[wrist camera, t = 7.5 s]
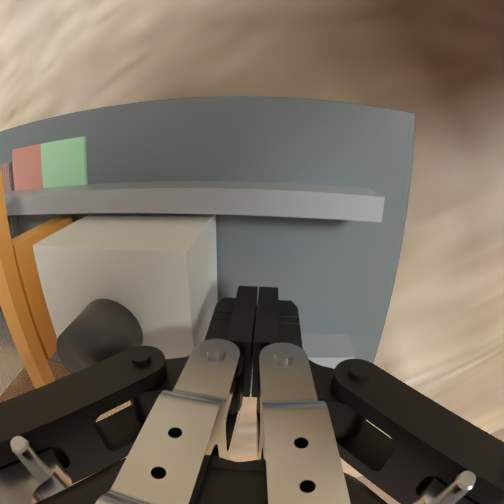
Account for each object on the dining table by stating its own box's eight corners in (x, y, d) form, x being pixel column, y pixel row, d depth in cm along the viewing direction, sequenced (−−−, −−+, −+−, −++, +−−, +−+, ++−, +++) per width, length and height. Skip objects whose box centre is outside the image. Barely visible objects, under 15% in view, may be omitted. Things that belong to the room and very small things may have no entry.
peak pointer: (52, 158, 13) (-26, 177, 8) (66, 156, 13) (-13, 175, 8) (88, 351, 17) (46, 409, 12) (101, 354, 17) (60, 415, 12)
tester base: (-1, 134, 14) (-38, 140, 11) (402, 115, 13) (435, 111, 10) (39, 343, 20) (16, 368, 17) (358, 377, 19) (369, 416, 15)
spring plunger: (96, 210, 14) (-3, 267, 7) (216, 211, 14) (164, 283, 7) (113, 317, 16) (49, 403, 9) (218, 328, 16) (189, 438, 9)
